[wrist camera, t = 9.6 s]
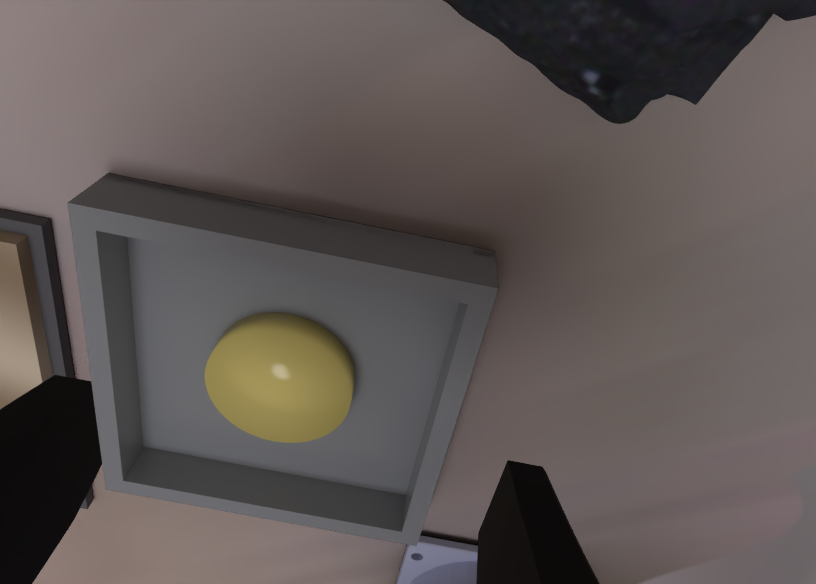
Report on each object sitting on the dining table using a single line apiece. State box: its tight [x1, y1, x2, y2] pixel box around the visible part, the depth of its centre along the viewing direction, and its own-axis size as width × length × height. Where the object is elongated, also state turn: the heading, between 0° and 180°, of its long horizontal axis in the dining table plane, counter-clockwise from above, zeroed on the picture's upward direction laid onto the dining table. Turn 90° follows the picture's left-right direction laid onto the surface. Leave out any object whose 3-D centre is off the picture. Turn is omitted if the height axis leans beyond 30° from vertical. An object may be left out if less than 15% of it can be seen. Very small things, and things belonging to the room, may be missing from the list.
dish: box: [68, 173, 499, 546], centre depth 21 cm, size 12×12×2 cm
